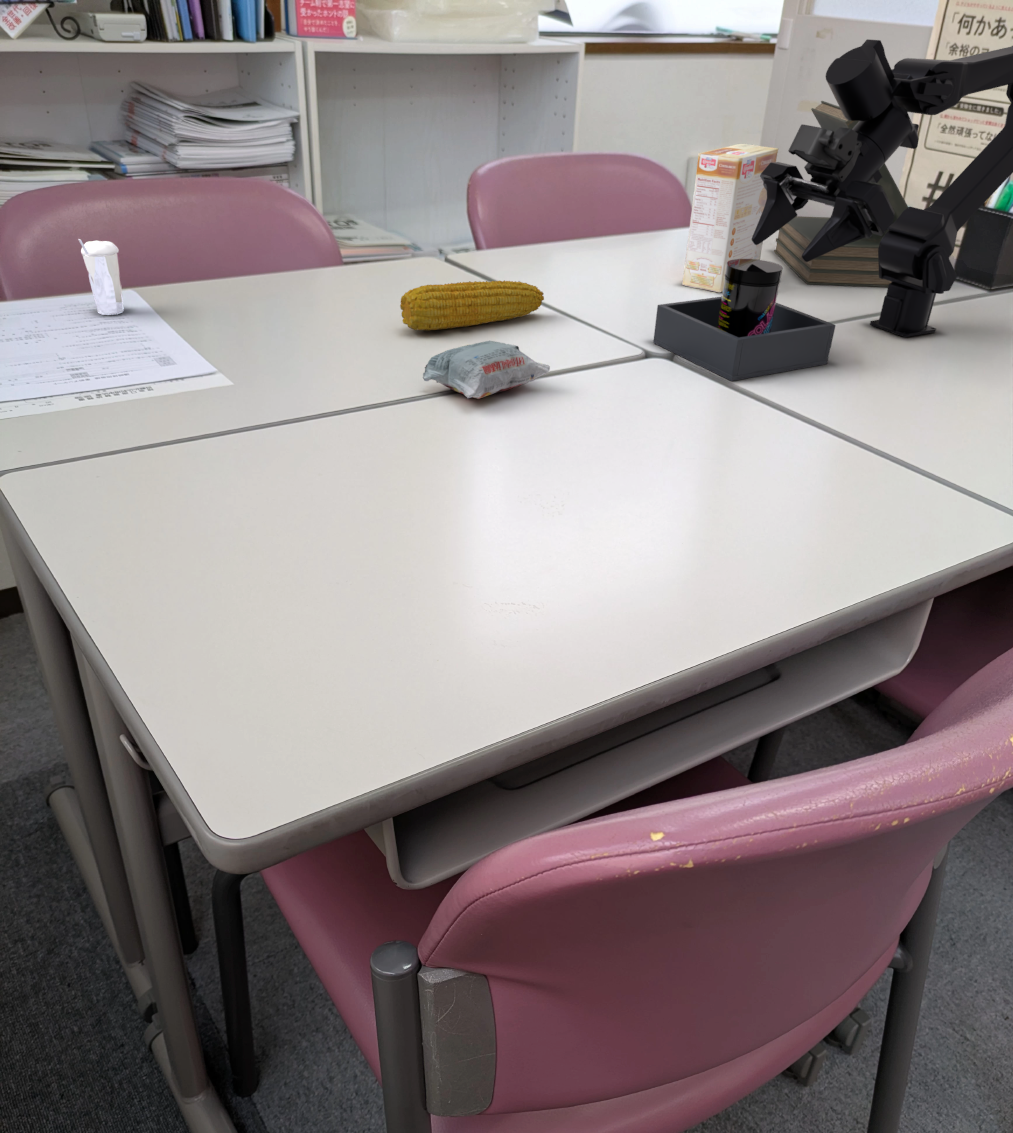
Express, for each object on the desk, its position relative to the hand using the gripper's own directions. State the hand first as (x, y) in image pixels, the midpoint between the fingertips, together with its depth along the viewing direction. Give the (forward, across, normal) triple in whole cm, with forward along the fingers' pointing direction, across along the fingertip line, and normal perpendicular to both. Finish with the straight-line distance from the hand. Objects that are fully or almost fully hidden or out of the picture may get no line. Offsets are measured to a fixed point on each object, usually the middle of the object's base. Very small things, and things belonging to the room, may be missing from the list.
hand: (777, 250), depth 116 cm
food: (+30, -23, -13) cm, 40 cm away
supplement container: (+11, 0, +6) cm, 13 cm away
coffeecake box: (-3, -31, +21) cm, 37 cm away
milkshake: (+61, -44, -44) cm, 87 cm away
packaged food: (+37, 0, -19) cm, 42 cm away
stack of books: (-21, -30, +40) cm, 54 cm away
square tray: (+11, 0, +6) cm, 13 cm away
